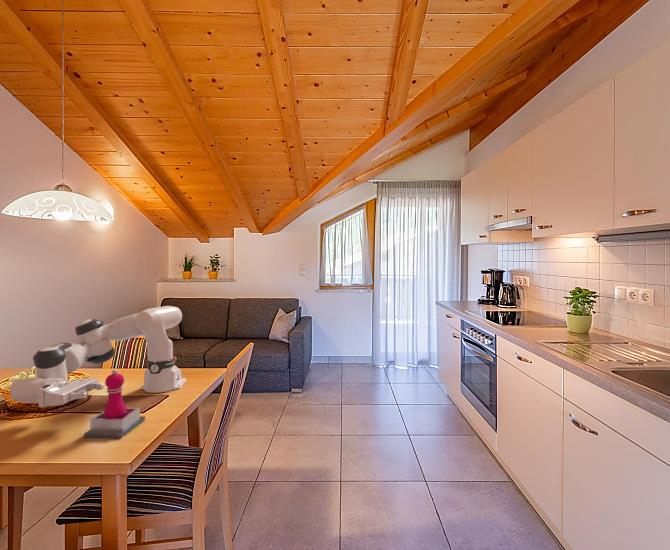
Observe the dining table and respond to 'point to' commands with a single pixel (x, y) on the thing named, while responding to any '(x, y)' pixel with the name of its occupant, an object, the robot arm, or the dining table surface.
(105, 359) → the robot arm
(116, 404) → the pepper mill
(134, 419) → the socket stand
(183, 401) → the dining table surface
